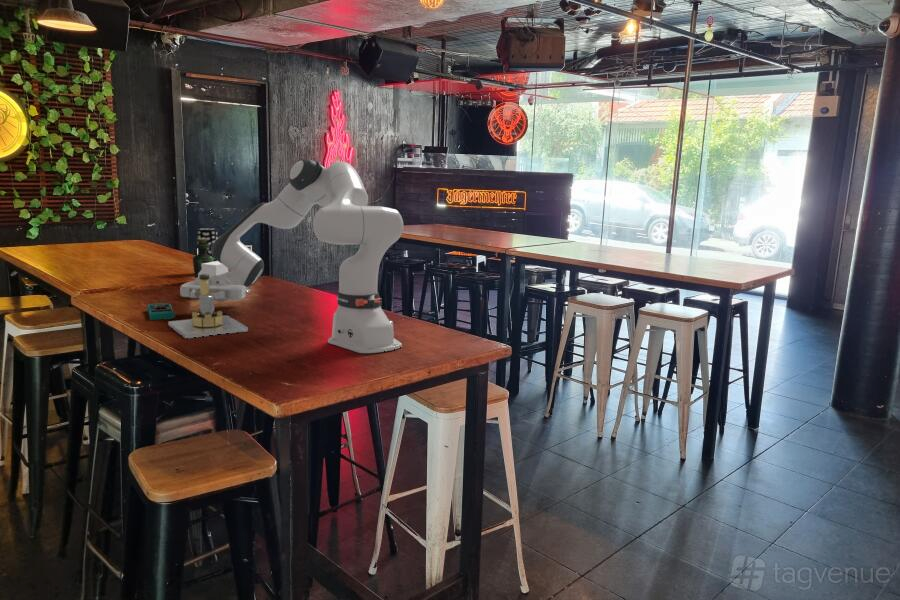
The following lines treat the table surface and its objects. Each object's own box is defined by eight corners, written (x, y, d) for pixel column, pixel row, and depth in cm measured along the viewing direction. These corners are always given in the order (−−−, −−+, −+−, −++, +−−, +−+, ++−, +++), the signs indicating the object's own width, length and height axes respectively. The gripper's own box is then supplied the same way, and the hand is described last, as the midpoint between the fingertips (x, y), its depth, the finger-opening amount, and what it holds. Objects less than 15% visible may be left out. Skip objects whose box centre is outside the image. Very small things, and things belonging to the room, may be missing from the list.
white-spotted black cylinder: (206, 275, 284) (205, 230, 280) (194, 273, 288) (193, 228, 284) (222, 273, 291) (221, 229, 287) (210, 271, 295) (209, 227, 291)
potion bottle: (189, 281, 269) (187, 238, 265) (206, 279, 275) (204, 237, 272) (201, 284, 264) (199, 240, 261) (218, 281, 271) (216, 239, 267)
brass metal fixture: (223, 325, 193) (222, 281, 190) (193, 327, 189) (191, 282, 186) (219, 315, 205) (218, 273, 203) (191, 317, 202) (189, 274, 199)
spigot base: (247, 331, 193) (247, 298, 191) (185, 338, 183) (184, 304, 181) (225, 318, 209) (224, 287, 207) (167, 324, 198) (165, 292, 196)
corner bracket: (216, 297, 241) (215, 265, 238) (192, 293, 244) (191, 262, 242) (235, 292, 250) (234, 261, 248) (211, 289, 254) (210, 259, 252)
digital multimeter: (170, 310, 218) (170, 302, 217) (175, 320, 205) (174, 311, 204) (147, 312, 214) (146, 303, 214) (150, 321, 202) (149, 312, 201)
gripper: (252, 299, 213) (235, 307, 200) (192, 295, 215) (172, 304, 201) (252, 280, 212) (235, 287, 199) (192, 277, 213) (171, 284, 200)
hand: (203, 296), depth 200 cm, fingers open, 5 cm apart
